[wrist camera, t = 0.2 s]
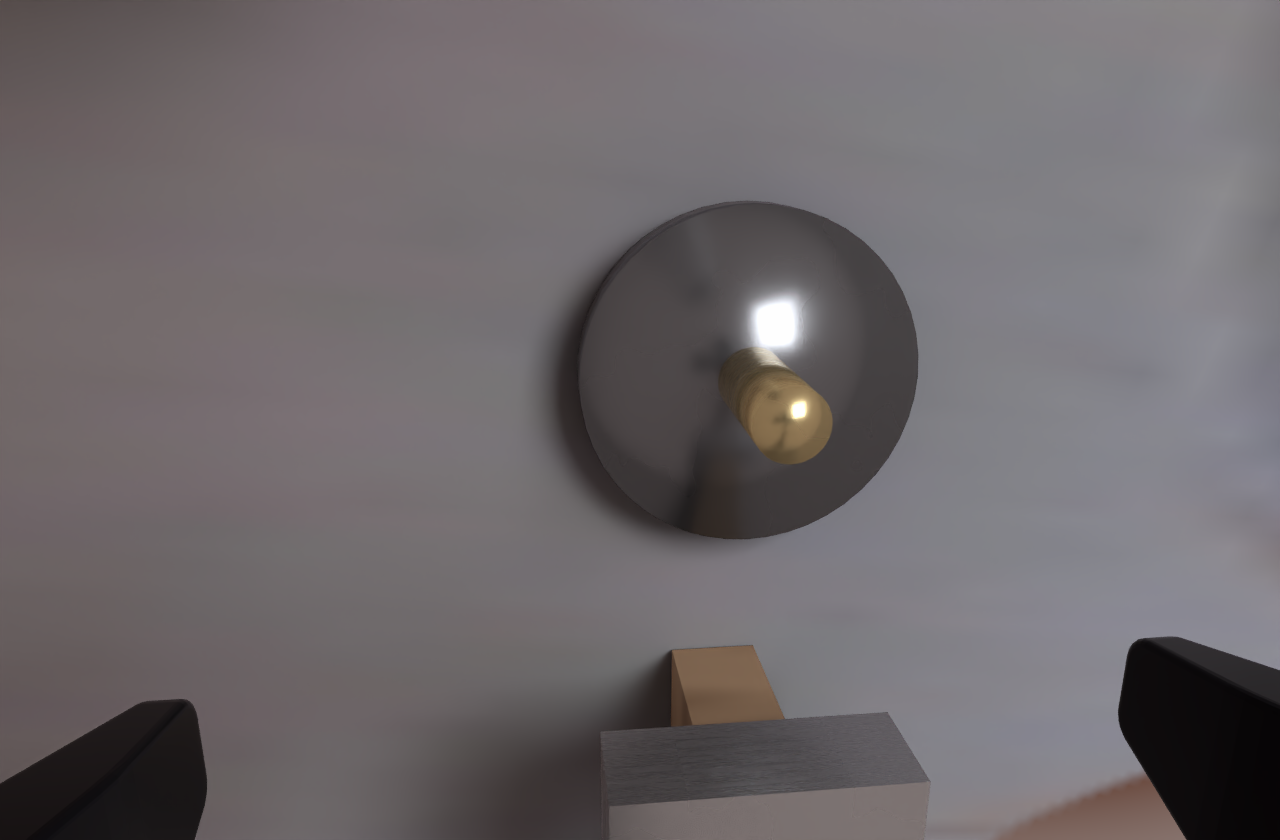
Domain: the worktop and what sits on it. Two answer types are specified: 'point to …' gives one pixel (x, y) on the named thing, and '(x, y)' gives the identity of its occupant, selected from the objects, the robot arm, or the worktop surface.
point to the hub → (746, 369)
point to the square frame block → (764, 781)
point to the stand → (720, 687)
